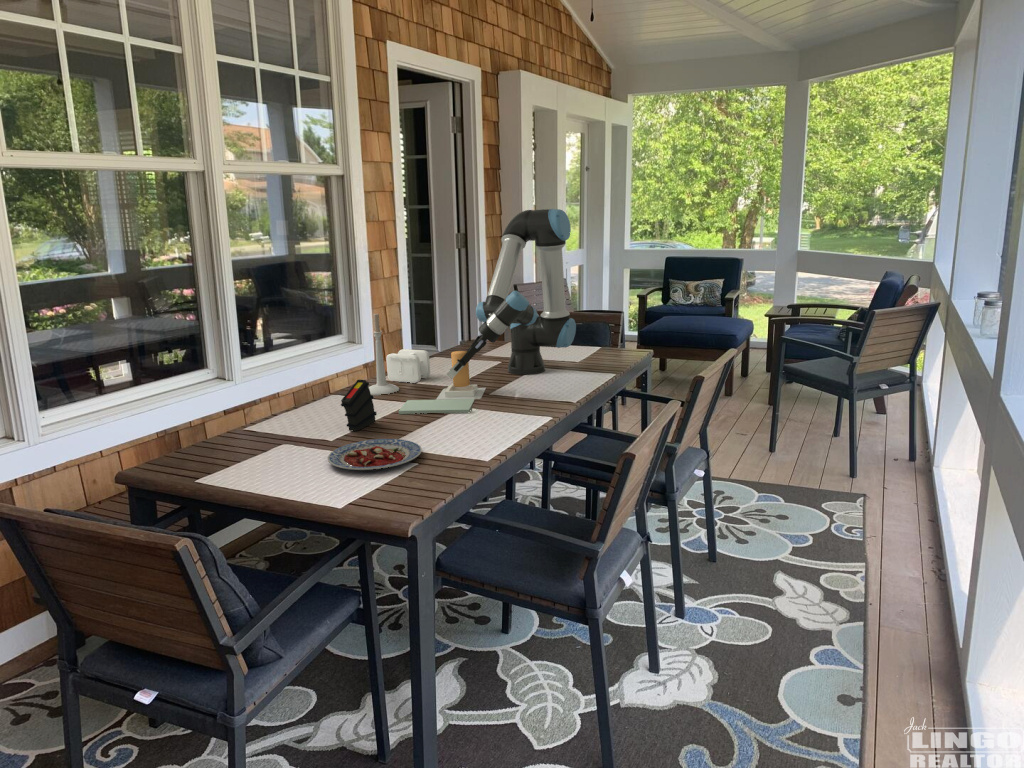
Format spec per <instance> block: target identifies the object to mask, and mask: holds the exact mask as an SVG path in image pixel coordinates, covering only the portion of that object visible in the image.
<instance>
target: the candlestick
mask: <svg viewBox="0 0 1024 768" xmlns="http://www.w3.org/2000/svg"><path fill="white" fill-rule="evenodd" d="M373 326H374V327H373V328H374V331H372V333H373V337H374V338H375V362H376V363H375V364H376V365H375V367H376V369H375V370H376V384H373V385H369V386H368V387H369V390H370V393H371V395H373V396H382V395H381V394H388V395H391V394H390V393H393V394H395V393H394V392H396V393H398V392H399V391H400V387H399V386H397V385H395V384H392V383H388V382H387V377H386V369H385V361H384V356H383V349H382V348H383V347H382V341H381V337H382V333H383V331H382V330H381V328H380V327H381V325H380V314H379V313H373ZM397 391H398V392H397Z"/></svg>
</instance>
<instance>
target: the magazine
mask: <svg viewBox="0 0 1024 768" xmlns="http://www.w3.org/2000/svg"><path fill="white" fill-rule="evenodd" d="M369 387H370V383H369V382H368V381H366V379H357V380H356V381H355V382H354V384H353V385H352V386H351V387H350V388H349V390H348V391H347V392H346V393H345V395H344V396H343V398H342V399H341V400H340V402H341V403H340V406H341V407H343V408H344V410H345V414H344V416H345V417H346V418H347V424H346V427H347V428H348V431H349V430H353V431H352V432H358V431H357V430H359V429H361V430H362V428H363V429H365V428H367V427H369V426H371V425H373V424H375V423H376V422H377V421H376V416H377V411H375V406H374V402H373V400H374V398H375V397H374V395H371V393H370V390H369ZM374 422H375V423H374ZM372 423H373V424H372ZM370 424H371V425H370ZM368 425H369V426H368ZM366 426H367V427H366ZM364 427H365V428H364ZM359 431H360V430H359Z"/></svg>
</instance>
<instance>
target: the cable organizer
mask: <svg viewBox="0 0 1024 768" xmlns="http://www.w3.org/2000/svg"><path fill="white" fill-rule="evenodd" d="M385 358H386V359H385V360H386V370H387V371H386V372H387V378H388V380H390V381H392V382H393V381H399V382H398V383H407V382H410V383H409V384H412V383H414V384H415V383H418V382H420V381H421V380H422V379H421V378H425V379H427V378H429V377H430V376H431V367H430V366H431V363H430V353H429V352H428V351H427V350H423V349H407V348H403V349H400V350H399V351H398V352H397V353H393V352H391V353H390V354H387V355H386V357H385Z"/></svg>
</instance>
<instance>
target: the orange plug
mask: <svg viewBox="0 0 1024 768" xmlns="http://www.w3.org/2000/svg"><path fill="white" fill-rule="evenodd" d="M466 353H467V350H456V351H452V352H451V353H450V356H451V359H450V360H451V367H453V366H454V365H455V364H456V363H457V362H458V361H457V360H458V359H459V360H460V359H461V358H462V357H463V356H464V355H465V354H466ZM469 363H470V362H467V364H466V365H465V366H464V367H463V368H462V369H461V370H460V371H459V372H458V373H457V374H456V375H455V377H454V378H453V379H452V383H453V384H452V385H453V386H455V387H466V386H469V385H471V381H470V380H471V379H470V366H469Z"/></svg>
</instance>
